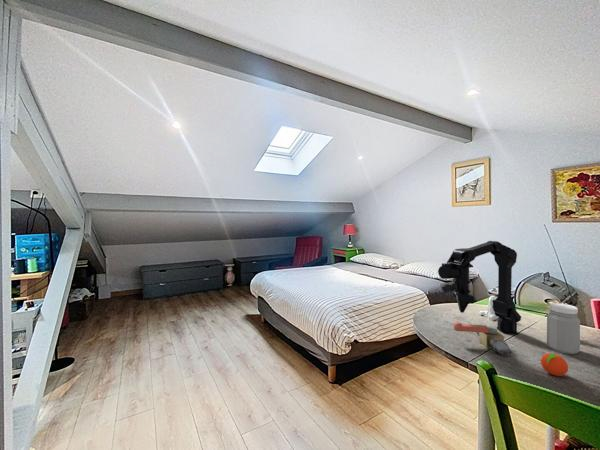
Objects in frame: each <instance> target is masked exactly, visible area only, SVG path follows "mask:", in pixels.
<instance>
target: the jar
mask: <svg viewBox="0 0 600 450" xmlns="http://www.w3.org/2000/svg"><path fill="white" fill-rule="evenodd" d="M548 312H549V313H548V314H547V315H546V345H548V347H549V348H550V349H551V350H554V351H556V352H558V353H562V354H567V355H577V354H578V353H579V352H580V351H581V350H580V349H581V347H580V345H581V320H580V318H579V317H578V316H579V315H578V313H579V308H578V307H577V306H575V305H571V304H567V303H561V302H552V303H551V302H550V303H549V311H548Z"/></svg>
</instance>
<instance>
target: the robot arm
mask: <svg viewBox="0 0 600 450" xmlns="http://www.w3.org/2000/svg"><path fill="white" fill-rule="evenodd" d="M489 253H490V254H491V255H492V256H493V258H494V261H495V263H496V266H498V269H497V270H498V272H497V273H498V281H497V282H498V285H497V287H498V288H497V289H498V290H497V296H496V297H497V298H496V300H493V307H492V308H493V310H494V312H495V316H498V317H499V318H498V319H497V325H496V330H498V331H500V332H501V333H502V334H510V335H519V334H520V332H518V329H517V328H518V323H519V322H521V320H522V316H521V314H520V313H519V312H518V311H517V306H516V303H515V302H514V300H513V299H512V278H513V277H512V272H513V271H512V269H513V266H514V265H515V264H516V263H517V258H518V254H517V253H518V252H517V251H516V250H515V249H514V248H513V249H512V248H511V247H509V246H507V245H504V244H502V243H501V242H499V241H496V240H488V241H486V242H484V243H480V244H477V245H475V246H472V247H468V248H464V247H463V248H455V249H453V251H452V253H451V254H450V257H449V258H448V259H447V261H446V262H444V263H443V262H442V263H441V266H439V268H438V270H437V273H438V276H439V278H441V279H442V280H447V279H452V281H449V282H448V281H447V282H445V283H440V288H441V291H442V293H443V294H447V293H450V292H454V293H452V296H453V297H454V298H455V300H456V301H457V305H458V309H459V312H460V314H461V313H463V314H464V313H465V311H466V309H467V308H468V306H469V304H470V303H475V302H476V300H475V298H476V297H475V296H474V295H473V294H472V293H471V290H470V284H471V280H470V268H474V265H473V264H472V262H473V261H475V259H476V258H477V257H480V256H482V255H486V254H489Z"/></svg>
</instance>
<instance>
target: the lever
mask: <svg viewBox="0 0 600 450" xmlns="http://www.w3.org/2000/svg"><path fill="white" fill-rule="evenodd" d="M453 330H454V331H456V332H466V333H468V332H470V333H476V332H482V333H490V334H497V332H498V329H497V328H494V327H489V326H487V325H483V324H482V325H481V324H469V323H468V324H465V323H462V322H460V321H454V322H453Z"/></svg>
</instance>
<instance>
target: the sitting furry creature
mask: <svg viewBox="0 0 600 450" xmlns="http://www.w3.org/2000/svg"><path fill="white" fill-rule="evenodd" d="M497 297H498V296H496V295H490V296H489V298H488V304H487V305H486V310H481V311H478V315H479V314H480V315H479V316H481V315H486V318H488V319H489V321H491V320H493V321H495V320H499V317H498V316H495V312H494V310H493V308H492V307H493V300H496V298H497Z"/></svg>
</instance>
